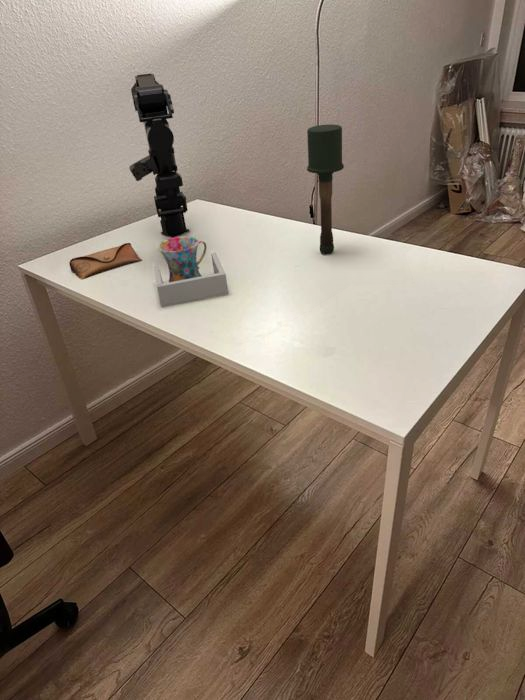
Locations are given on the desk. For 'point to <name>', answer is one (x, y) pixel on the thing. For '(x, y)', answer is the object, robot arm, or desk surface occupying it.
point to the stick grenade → (325, 173)
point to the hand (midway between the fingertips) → (172, 207)
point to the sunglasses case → (103, 261)
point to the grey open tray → (192, 286)
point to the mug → (181, 257)
